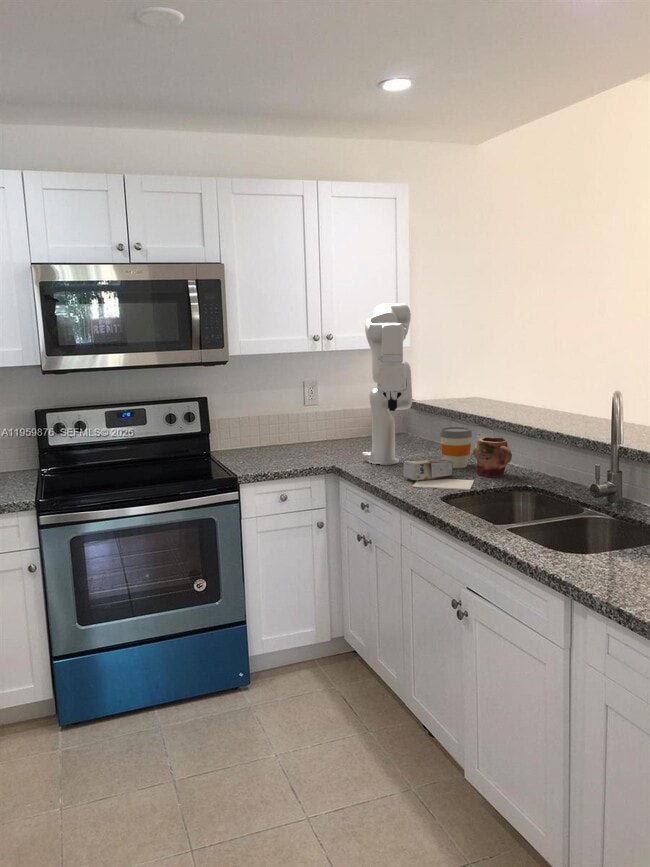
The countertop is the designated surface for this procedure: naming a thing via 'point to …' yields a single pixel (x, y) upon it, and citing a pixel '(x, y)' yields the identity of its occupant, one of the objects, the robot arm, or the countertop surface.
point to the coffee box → (428, 469)
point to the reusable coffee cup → (456, 445)
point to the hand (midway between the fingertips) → (392, 410)
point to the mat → (445, 484)
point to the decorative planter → (491, 456)
